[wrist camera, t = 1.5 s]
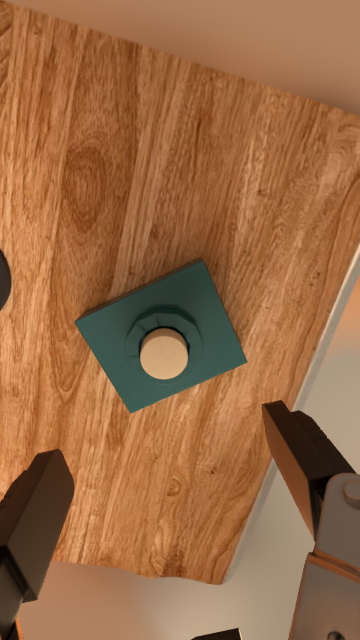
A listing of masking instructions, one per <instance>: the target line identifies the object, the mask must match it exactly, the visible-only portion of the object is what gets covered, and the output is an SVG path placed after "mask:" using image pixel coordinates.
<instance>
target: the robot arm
mask: <svg viewBox="0 0 360 640" xmlns="http://www.w3.org/2000/svg"><path fill="white" fill-rule="evenodd" d="M262 413H263V419H264V425H265V432H266V438H267V442H268V445H269V448H270V451H271V454H272V456H273V458H274V460H275V462H276V464H277V466H278V468H279V470H280V472H281V474H282V476H283V478H284V480H285V482H286V484H287V486H288V488H289V490H290V493H291V495H292V497H293V499H294V501H295V503H296V505H297V507H298V509H299V511H300V513H301V515H302V517H303V519H304V521H305V523H306V525H307V527H308V529H309V531H310V533H311V535H312V538H313V540H314V542H315V546H314V550H313V552H309V553H308V555H307V558H306V561H305V565H304V569H303V574H302V579H301V583H300V588H299V592H298V597H297V602H296V606H295V611H294V615H293V620H292V625H291V629H290V634H289V638H288V640H360V475H359V474H357V473H356V472H355V471H354V470H353V468H352V467H351V466H350V465H349V463H348V462H347V461H346V460H345V458H344V457H343V456H342V455H341V453H340V452H339V451H338V450H337V449H336V447H335V446H334V445H333V444H332V442H331V441H330V440H329V439H328V438H327V436H326V435H325V434H324V432H323V431H322V430H320V427H319V426H318V425H317V424H316V422H315V421H314V420H313V419H312V418H311V417H310V416H308V415H306V414H305V413H303V412H301V411H300V410H299V411H294V412H290V411H289V410H288V408H287V407H286V405H285V404H284V402H283V401H282V400H279V401H274V402H270V403H265V404H262ZM73 495H74V481H73V478H72V475H71V473H70V471H69V468H68V466H67V463H66V461H65V459H64V456H63V454H62V452H61V451H60V450H59V449H55V450H51V451H46V452H42V453H38V454H37V455H36V456H35V458H34V459H33V461H32V463H31V464H30V466H29V468H28V470H24V471H23V472H22V474H21V475H20V476H19V477H18V478H17V479H16V480H15V481H14V482H13V483H12V484H11V486H10V487H9V489H8V491H7V492H6V494H5V496H4V499H2V500H1V502H0V640H24V638H23V633H22V629H21V625H20V621H19V618H18V617H17V613H18V610H19V608H20V605H21V603H25V602H30V601H34V600H37V599H38V596H39V594H40V591H41V588H42V585H43V582H44V579H45V576H46V574H47V570H48V568H49V565H50V562H51V559H52V556H53V553H54V551H55V548H56V545H57V542H58V539H59V536H60V533H61V530H62V528H63V525H64V522H65V519H66V516H67V513H68V510H69V507H70V505H71V502H72V499H73ZM192 640H242V639H241V635H240V631H239V628H236V629H231V630H226V631H222V632H217V633H212V634H207V635H202V636H198V637H195V638H193V639H192Z"/></svg>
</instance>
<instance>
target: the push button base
mask: <svg viewBox="0 0 360 640" xmlns="http://www.w3.org/2000/svg"><path fill="white" fill-rule="evenodd" d="M75 324H76V326H77V327H78V329H79V331H80V332H81V334H82V335H83V337H84V339H85V340H86V342H87V344H88V345H89V347H90V348H91V350H92V352H93V353H94V355H95V357H96V358H97V360H98V361H99V363H100V365H101V366H102V368H103V370H104V371H105V373H106V374H107V376H108V378H109V379H110V381H111V383H112V384H113V386H114V387H115V389H116V391H117V392H118V394H119V396H120V397H121V399H122V400H123V402H124V404H125V405H126V407H127V408H128V410H129V412H130V413H133V412H136V411H138V410H140V409H143V408H145V407H147V406H149V405H152V404H154V403H156V402H158V401H161V400H163V399H165V398H168V397H170V396H172V395H174V394H177V393H179V392H181V391H183V390H186V389H188V388H190V387H193V386H195V385H197V384H199V383H202V382H204V381H206V380H208V379H211V378H213V377H215V376H218V375H220V374H222V373H224V372H227V371H229V370H231V369H233V368H236V367H238V366H240V365H243V364H245V363H247V360H246V357H245V355H244V353H243V350H242V348H241V346H240V343H239V341H238V339H237V337H236V334H235V332H234V330H233V327H232V325H231V323H230V320H229V318H228V316H227V313H226V311H225V309H224V307H223V304H222V302H221V300H220V297H219V295H218V293H217V290H216V288H215V286H214V283H213V281H212V279H211V277H210V274H209V272H208V270H207V267H206V265H205V263H204V261H203V260H202V259H201V258H198V259H196V260H194V261H192V262H190V263H188V264H185V265H183V266H181V267H179V268H177V269H175V270H173V271H171V272H169V273H167V274H165V275H162V276H160V277H158V278H156V279H154V280H152V281H150V282H148V283H146V284H144V285H142V286H139V287H137V288H135V289H133V290H131V291H129V292H127V293H125V294H123V295H121V296H119V297H116V298H114V299H112V300H110V301H108V302H106V303H104V304H102V305H100V306H98V307H96V308H93V309H91V310H89V311H87V312H85V313H83V314H82V315H81V316H80V317H79V318H78V319H77V320H76V321H75ZM160 328H168V329H172V330H175V331H176V332H178V333H179V334H180V335H181V336H182V337H183V339H184V340H185V343H186V348H187V353H188V361H187V365H186V367H185V368H184V370H183V371H182V372H181V373H180V374H179V375H177V376H175V377H173V378H170V379H158V378H155V377H152V376H151V375H149V374H148V373H147V372H146V371H145V370H144V368H143V367H142V365H141V361H140V354H141V349H142V344H143V341H144V339H145V338H146V336H147V335H148V334H149V333H151V332H152V331H154V330H156V329H160Z"/></svg>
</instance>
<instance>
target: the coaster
mask: <svg viewBox="0 0 360 640" xmlns="http://www.w3.org/2000/svg"><path fill="white" fill-rule="evenodd" d="M10 287H11V277H10V271H9V267H8V264H7V261H6V259H5V257H4V255H3V253H2V252H1V250H0V310H1V309H2V308H3V306H4V305H5V303H6V301H7V299H8V296H9V293H10Z"/></svg>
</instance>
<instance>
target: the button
mask: <svg viewBox="0 0 360 640" xmlns="http://www.w3.org/2000/svg"><path fill="white" fill-rule="evenodd" d="M140 361H141V365H142V367H143V368H144V370H145V371H146V372H147V373H148V374H149V375H151V376H152V377H155V378H158V379H170V378H173V377H175V376H177V375H179V374H180V373H181V372H182V371H183V370H184V368H185V367H186V365H187V361H188V353H187V348H186V343H185V340H184V339H183V337H182V336H181V335H180V334H179V333H178V332H176V331H175V330H172V329H168V328H160V329H156V330H154V331H152V332H151V333H149V334H148V335H147V336H146V338H145V339H144V341H143V344H142V349H141V354H140Z"/></svg>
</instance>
